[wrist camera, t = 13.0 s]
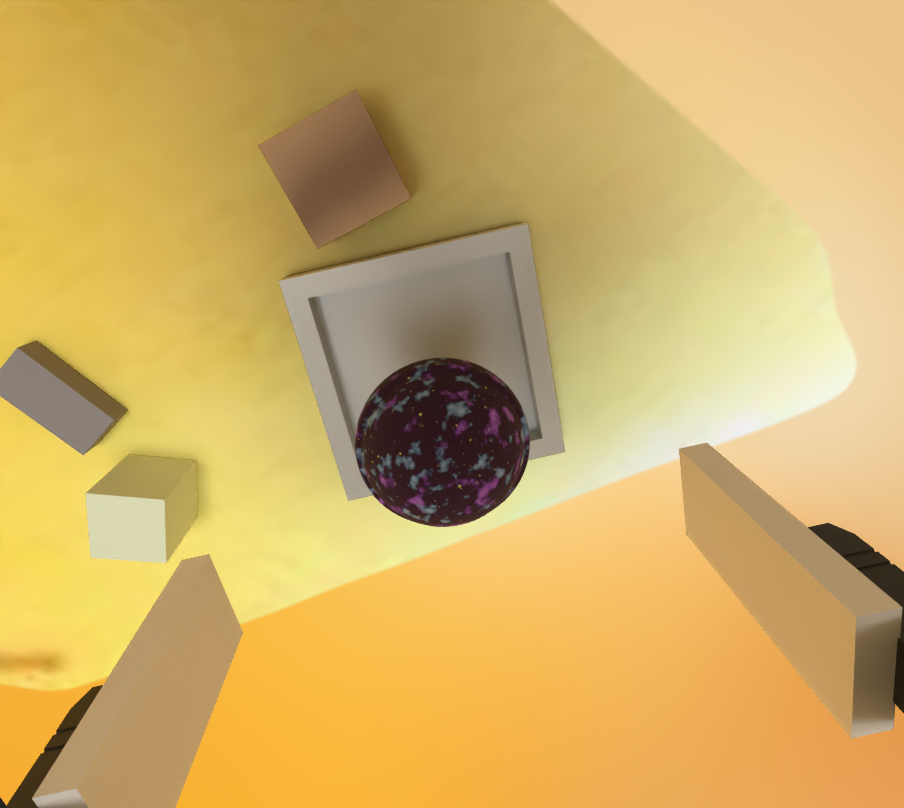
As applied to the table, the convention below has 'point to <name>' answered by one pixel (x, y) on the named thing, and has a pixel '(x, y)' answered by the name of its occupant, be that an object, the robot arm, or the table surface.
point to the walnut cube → (335, 169)
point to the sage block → (142, 508)
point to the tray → (424, 329)
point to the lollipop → (442, 442)
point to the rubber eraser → (58, 397)
